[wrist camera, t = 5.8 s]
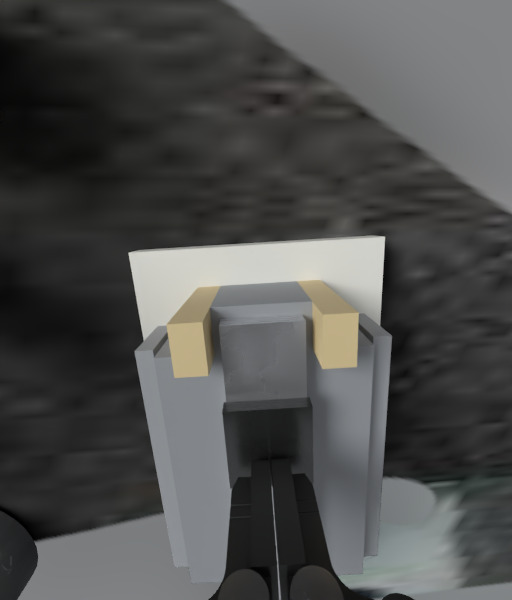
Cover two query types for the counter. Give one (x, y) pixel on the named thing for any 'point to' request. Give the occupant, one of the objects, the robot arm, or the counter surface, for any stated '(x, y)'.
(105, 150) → the counter surface
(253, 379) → the latch bar
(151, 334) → the base
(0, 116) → the mate gourd
